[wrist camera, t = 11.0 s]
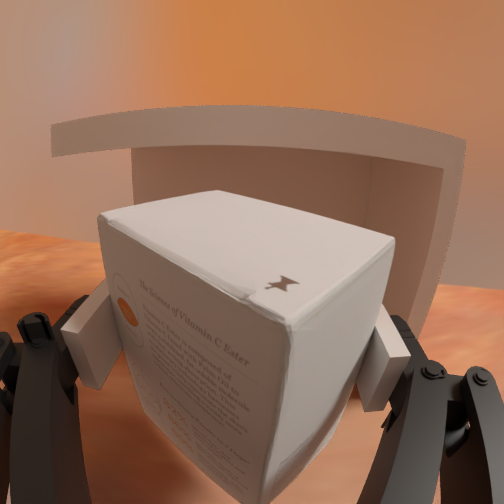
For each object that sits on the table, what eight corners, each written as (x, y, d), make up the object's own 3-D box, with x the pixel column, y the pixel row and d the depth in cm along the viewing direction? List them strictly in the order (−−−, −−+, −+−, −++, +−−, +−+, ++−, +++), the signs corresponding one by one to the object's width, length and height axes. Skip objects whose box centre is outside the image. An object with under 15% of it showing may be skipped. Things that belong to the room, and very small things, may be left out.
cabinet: (390, 396, 20) (466, 140, 13) (104, 380, 21) (50, 125, 13) (355, 308, 33) (383, 130, 25) (150, 299, 33) (137, 121, 26)
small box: (332, 441, 12) (405, 237, 8) (254, 519, 8) (299, 326, 4) (219, 366, 17) (218, 186, 13) (140, 411, 13) (94, 209, 9)
